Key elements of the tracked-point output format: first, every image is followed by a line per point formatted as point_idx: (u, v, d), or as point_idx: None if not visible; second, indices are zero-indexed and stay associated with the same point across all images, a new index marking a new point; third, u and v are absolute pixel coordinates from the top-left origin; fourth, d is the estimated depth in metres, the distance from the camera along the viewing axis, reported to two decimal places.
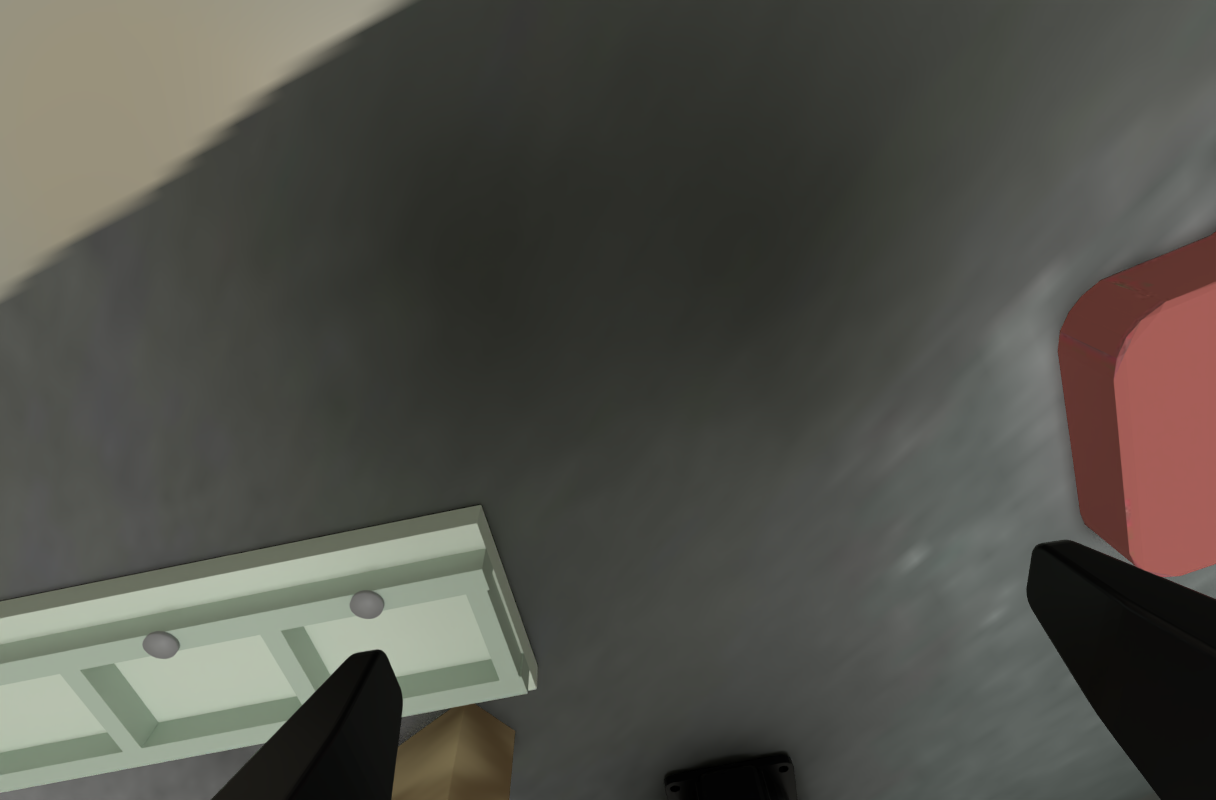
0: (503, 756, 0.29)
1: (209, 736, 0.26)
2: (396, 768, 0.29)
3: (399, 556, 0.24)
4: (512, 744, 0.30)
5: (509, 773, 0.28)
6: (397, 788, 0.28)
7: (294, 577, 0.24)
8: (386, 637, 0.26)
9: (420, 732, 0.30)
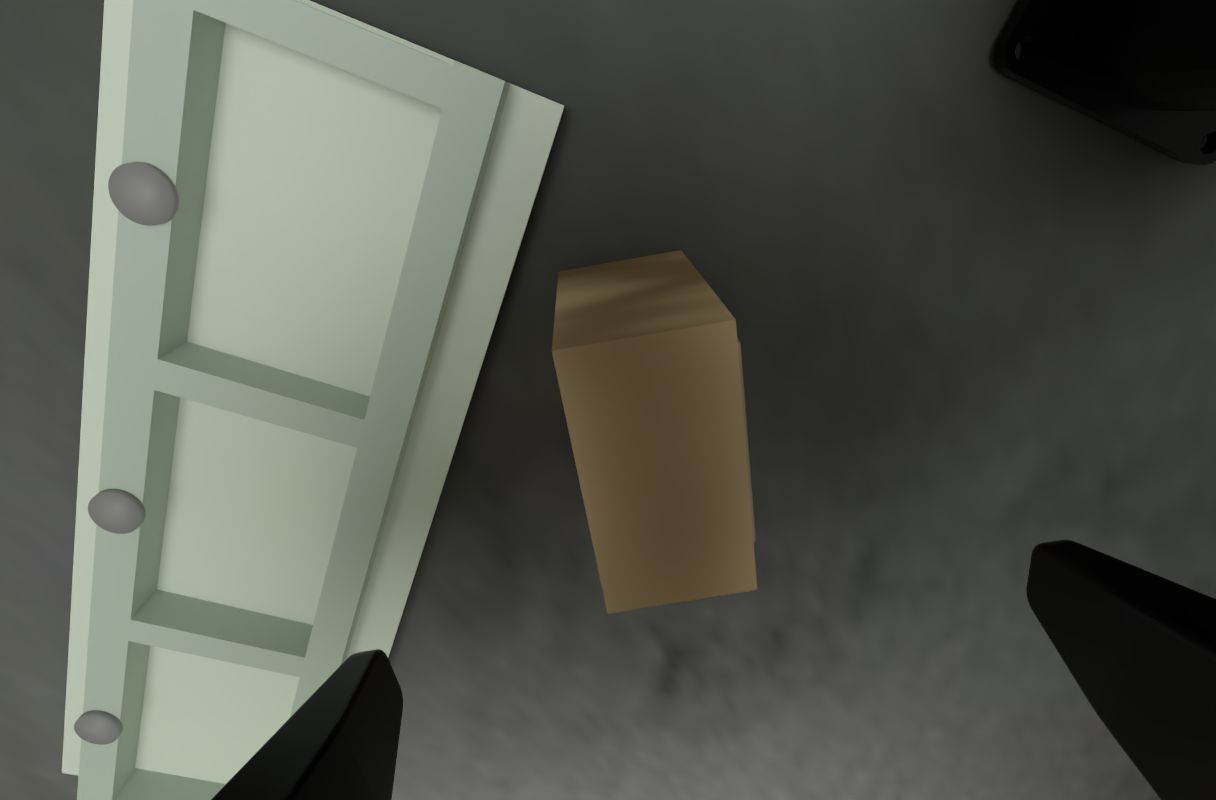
0: (667, 267, 0.15)
1: (328, 582, 0.17)
2: None
3: None
4: (682, 256, 0.16)
5: (691, 270, 0.14)
6: None
7: None
8: (309, 260, 0.15)
9: None
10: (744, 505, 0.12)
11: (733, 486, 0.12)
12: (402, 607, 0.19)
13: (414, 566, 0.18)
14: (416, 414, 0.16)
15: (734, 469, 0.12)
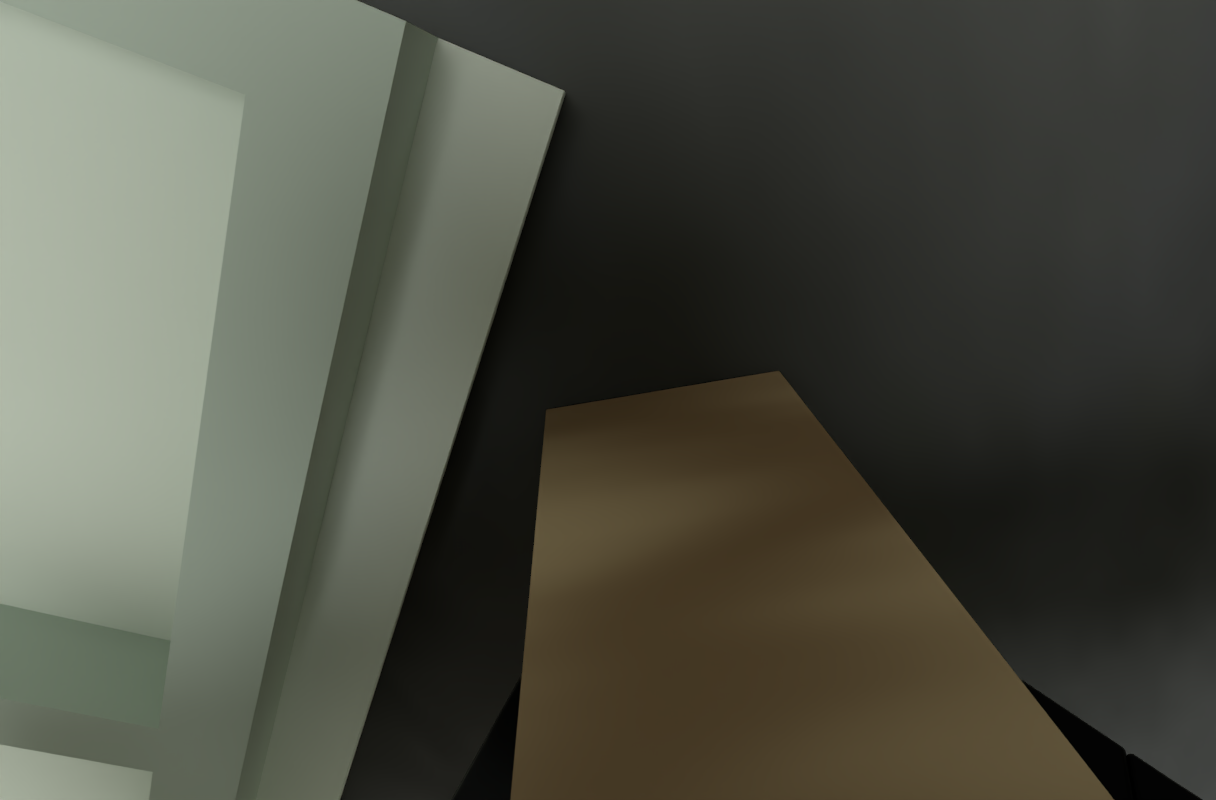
0: (771, 433, 0.07)
1: None
2: None
3: None
4: (789, 395, 0.08)
5: (830, 452, 0.07)
6: None
7: None
8: (32, 415, 0.07)
9: None
10: None
11: None
12: None
13: None
14: (286, 673, 0.09)
15: None
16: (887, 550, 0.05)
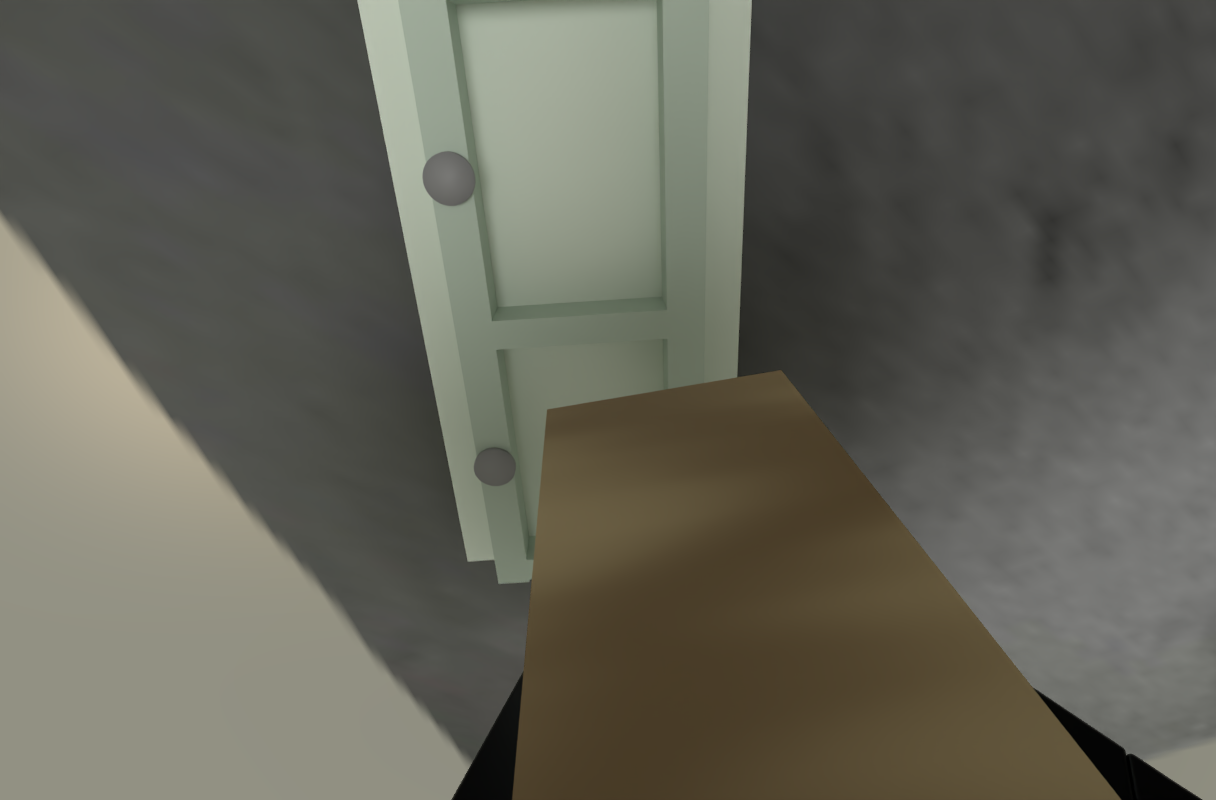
0: (773, 433, 0.07)
1: (669, 196, 0.15)
2: None
3: None
4: (792, 395, 0.08)
5: (833, 452, 0.07)
6: None
7: None
8: None
9: None
10: None
11: None
12: (741, 237, 0.17)
13: (742, 175, 0.16)
14: None
15: None
16: (892, 551, 0.05)
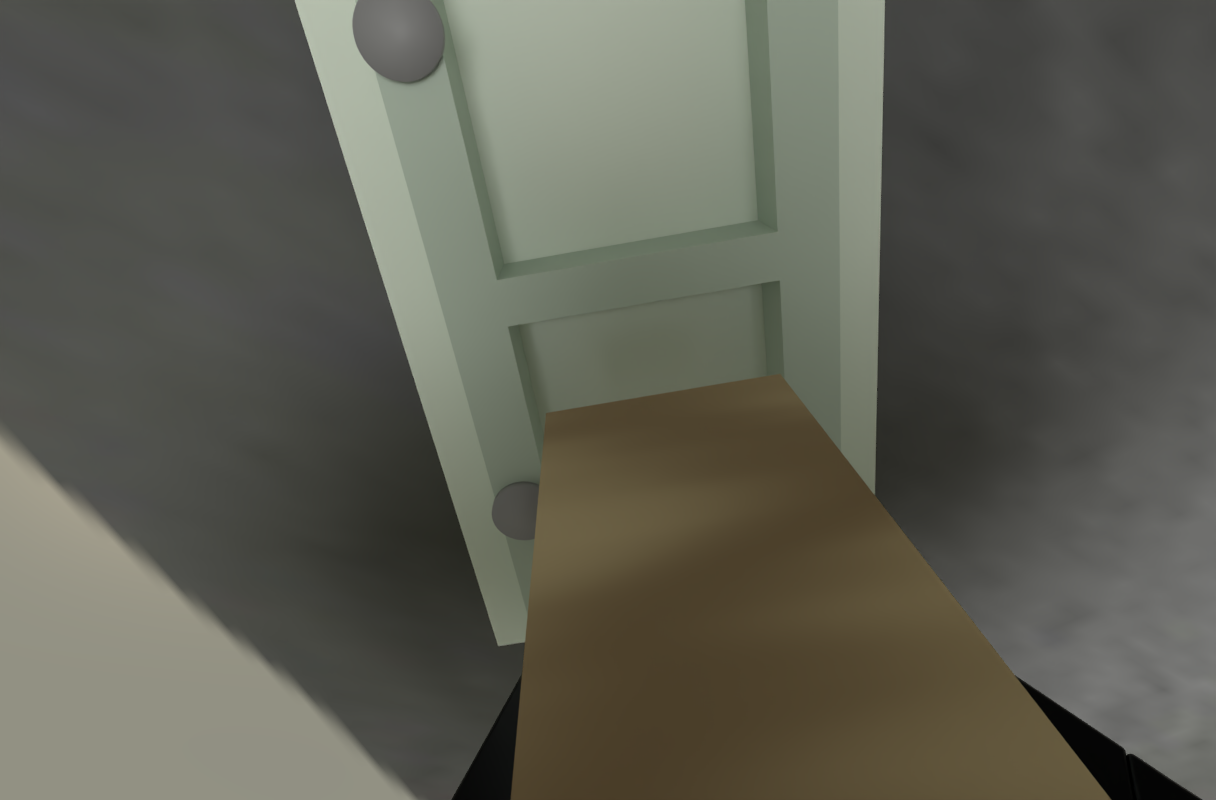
0: (772, 437, 0.07)
1: (775, 28, 0.09)
2: None
3: None
4: (791, 399, 0.08)
5: (832, 457, 0.07)
6: None
7: None
8: None
9: None
10: None
11: None
12: (880, 107, 0.11)
13: None
14: None
15: None
16: (891, 557, 0.05)
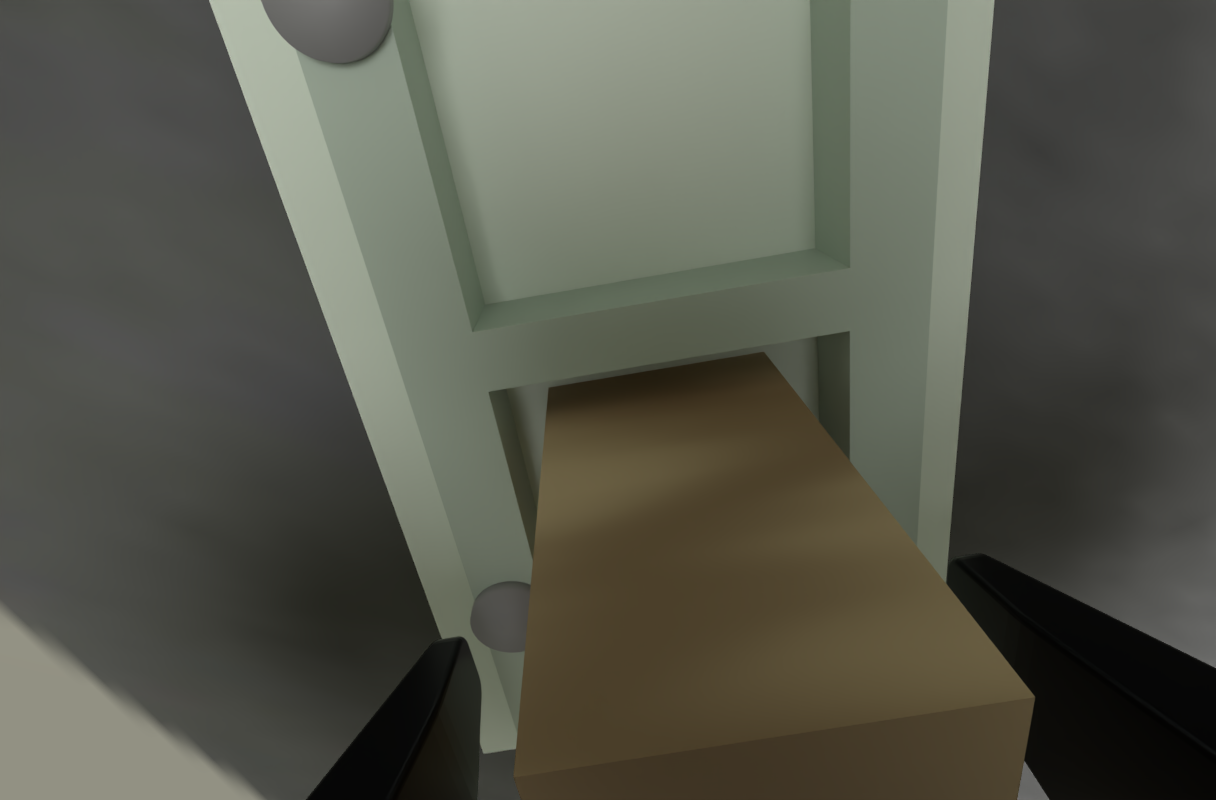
0: (754, 405, 0.08)
1: None
2: None
3: None
4: (772, 373, 0.09)
5: (806, 420, 0.07)
6: None
7: None
8: None
9: None
10: None
11: None
12: (983, 100, 0.08)
13: None
14: None
15: None
16: (851, 498, 0.06)
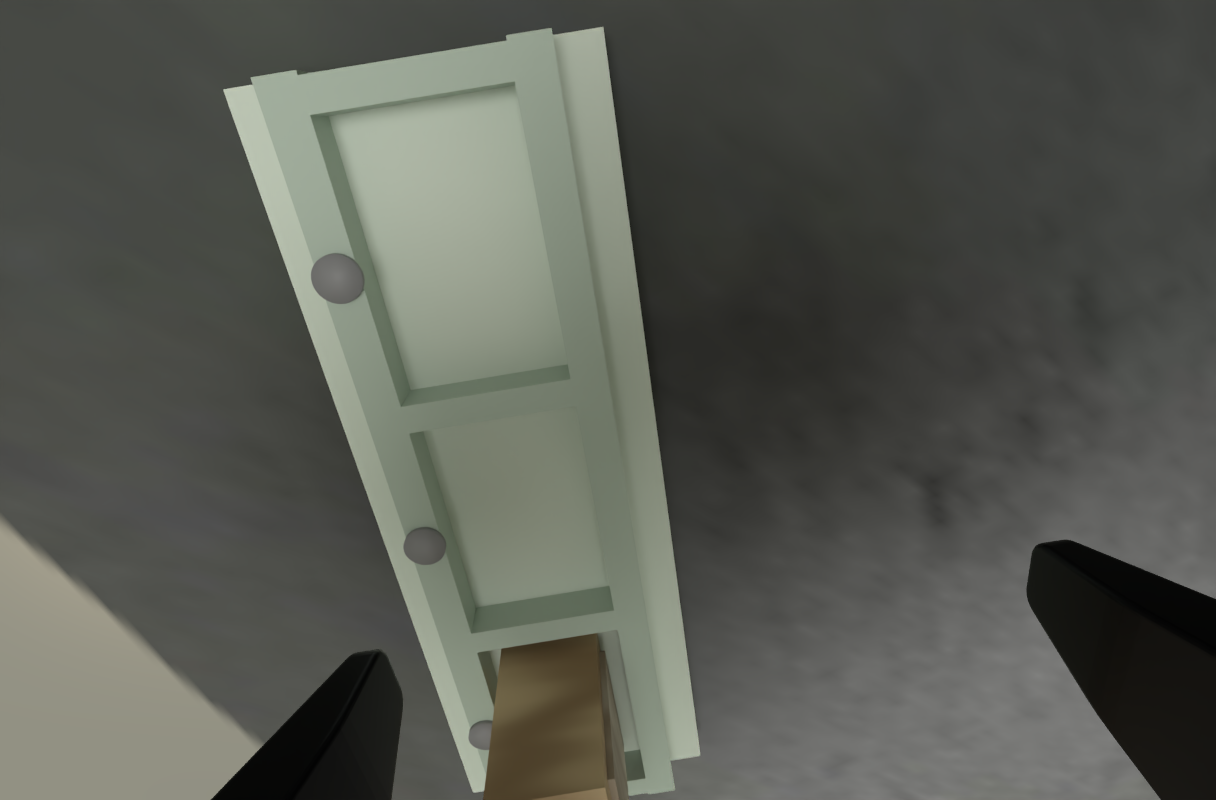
0: (579, 660, 0.20)
1: (603, 535, 0.19)
2: None
3: None
4: (593, 638, 0.21)
5: (594, 672, 0.20)
6: None
7: None
8: (468, 274, 0.17)
9: None
10: None
11: None
12: (670, 538, 0.21)
13: (663, 497, 0.20)
14: (605, 361, 0.18)
15: None
16: (592, 715, 0.18)
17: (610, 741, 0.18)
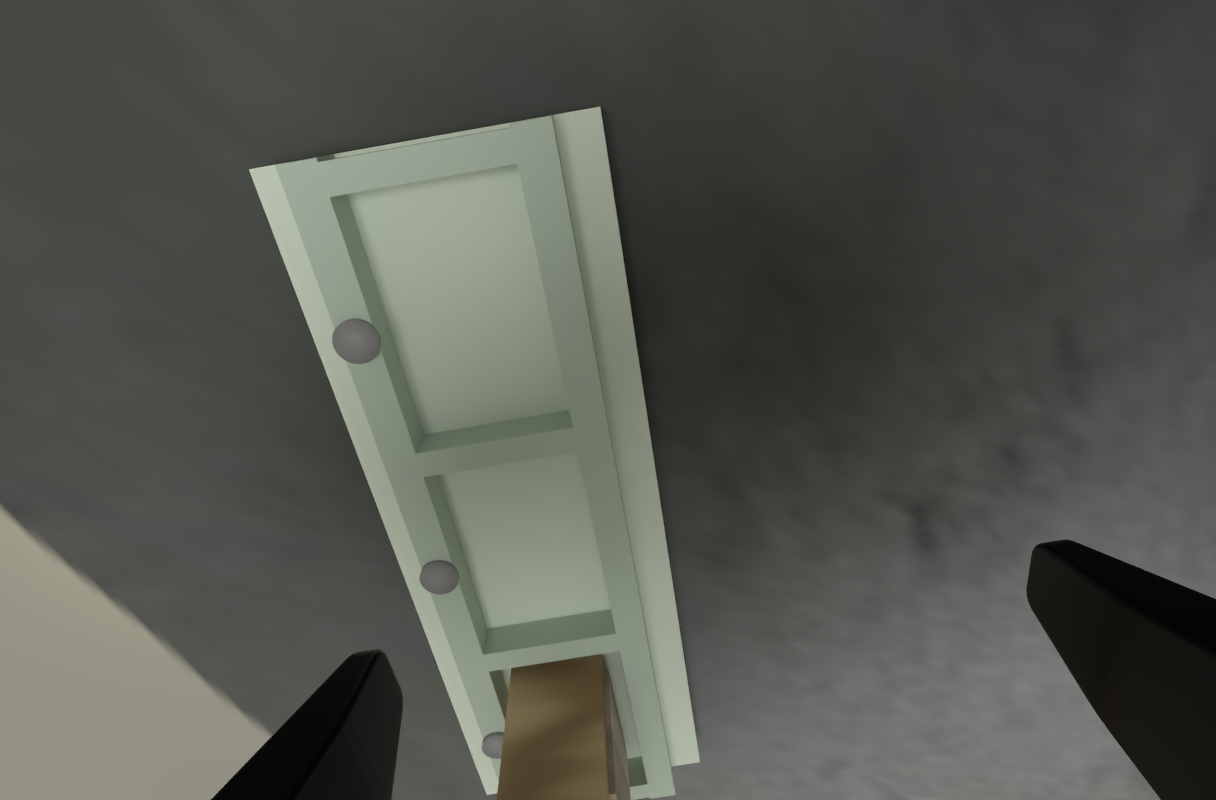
0: (584, 679, 0.22)
1: (605, 566, 0.20)
2: None
3: None
4: (596, 657, 0.23)
5: (597, 691, 0.21)
6: None
7: None
8: (477, 330, 0.18)
9: None
10: None
11: None
12: (668, 566, 0.22)
13: (662, 528, 0.21)
14: (606, 407, 0.19)
15: None
16: (595, 734, 0.20)
17: (612, 757, 0.20)
